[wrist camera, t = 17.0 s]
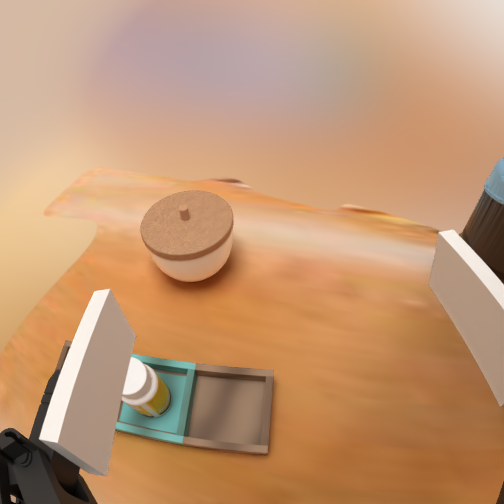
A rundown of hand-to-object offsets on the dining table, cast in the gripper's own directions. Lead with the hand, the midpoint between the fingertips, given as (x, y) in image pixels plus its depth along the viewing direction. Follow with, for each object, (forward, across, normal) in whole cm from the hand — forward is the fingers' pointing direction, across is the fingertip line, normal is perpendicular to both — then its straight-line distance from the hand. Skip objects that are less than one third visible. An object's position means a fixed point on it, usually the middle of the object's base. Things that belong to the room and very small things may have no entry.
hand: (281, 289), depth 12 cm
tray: (+10, -16, -24) cm, 30 cm away
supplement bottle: (+10, -16, -23) cm, 29 cm away
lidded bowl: (+31, -11, -19) cm, 38 cm away
